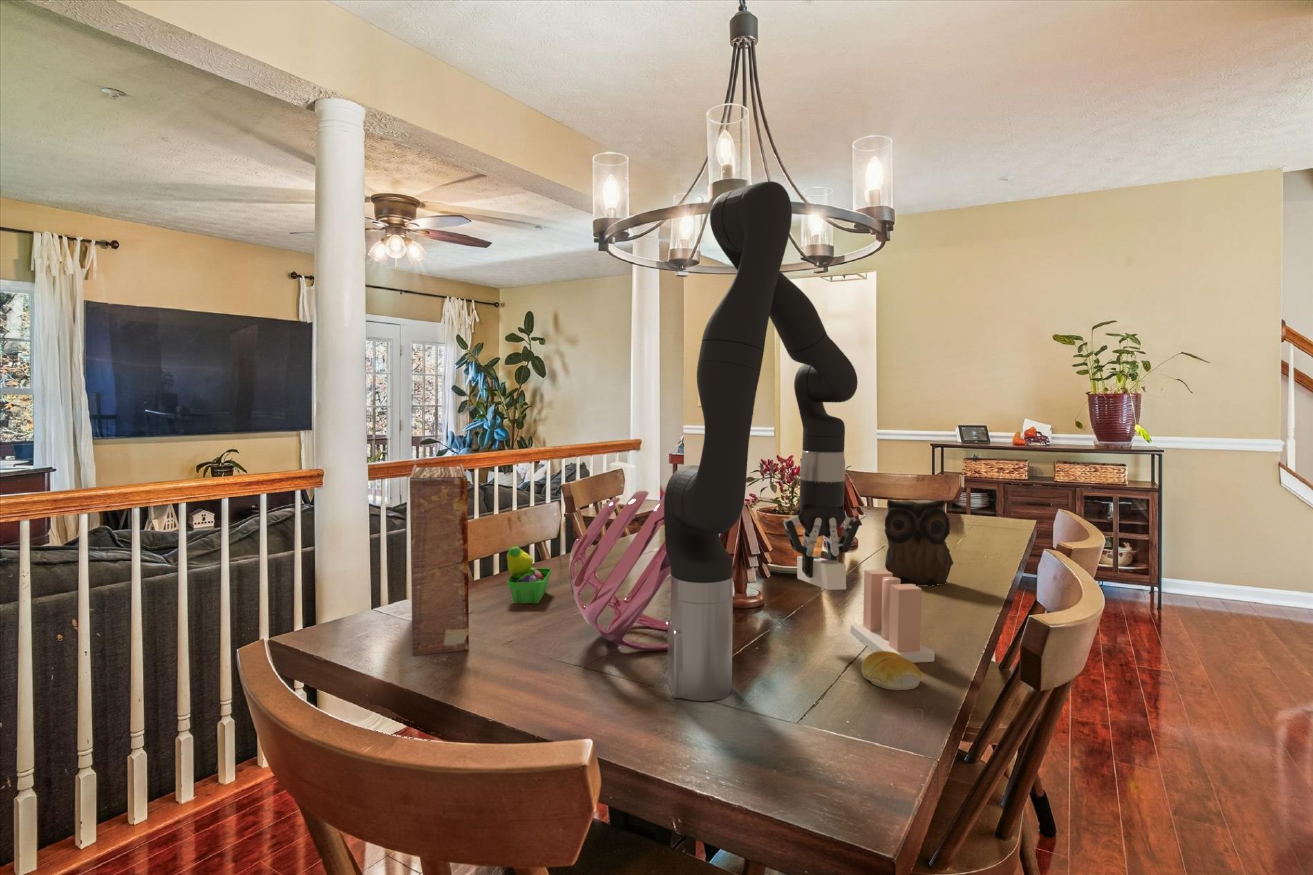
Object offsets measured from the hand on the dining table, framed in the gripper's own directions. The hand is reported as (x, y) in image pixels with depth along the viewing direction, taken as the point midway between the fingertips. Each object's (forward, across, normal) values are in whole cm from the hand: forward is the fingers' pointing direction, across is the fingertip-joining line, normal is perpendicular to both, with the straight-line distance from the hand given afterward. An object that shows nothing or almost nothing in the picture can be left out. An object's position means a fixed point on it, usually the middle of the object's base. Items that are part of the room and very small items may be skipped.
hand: (819, 576), depth 118 cm
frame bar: (+1, 0, -1) cm, 1 cm away
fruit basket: (+14, -51, +37) cm, 65 cm away
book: (+14, -66, +18) cm, 70 cm away
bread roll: (+13, +6, -14) cm, 20 cm away
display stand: (+12, +13, -1) cm, 18 cm away
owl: (+12, +41, +40) cm, 58 cm away
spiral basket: (+13, -30, +9) cm, 35 cm away
